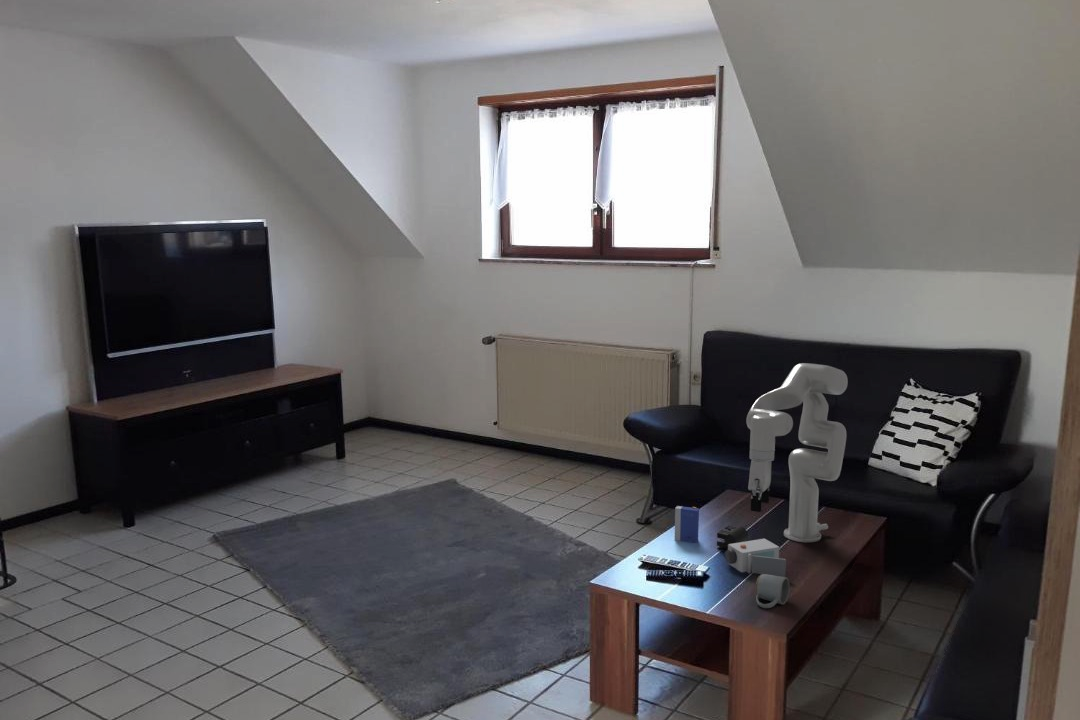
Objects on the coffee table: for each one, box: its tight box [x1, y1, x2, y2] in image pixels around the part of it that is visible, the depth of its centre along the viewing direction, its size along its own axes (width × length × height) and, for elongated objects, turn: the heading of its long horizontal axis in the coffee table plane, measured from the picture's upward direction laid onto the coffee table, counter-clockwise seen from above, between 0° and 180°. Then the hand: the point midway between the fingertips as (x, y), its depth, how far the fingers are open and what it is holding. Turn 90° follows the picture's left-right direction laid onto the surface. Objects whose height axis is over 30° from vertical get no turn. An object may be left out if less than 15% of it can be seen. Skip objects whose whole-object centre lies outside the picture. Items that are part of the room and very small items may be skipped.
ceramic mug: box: [754, 574, 790, 609], centre depth 250 cm, size 11×8×8 cm
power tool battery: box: [716, 525, 749, 553], centre depth 291 cm, size 10×7×7 cm
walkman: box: [674, 505, 700, 544], centre depth 298 cm, size 8×3×12 cm, turn 68°
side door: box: [746, 554, 787, 577], centre depth 269 cm, size 12×1×6 cm, turn 71°
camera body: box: [724, 538, 780, 573], centre depth 276 cm, size 16×8×7 cm, turn 111°
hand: (759, 506), depth 271 cm, fingers open, 9 cm apart
